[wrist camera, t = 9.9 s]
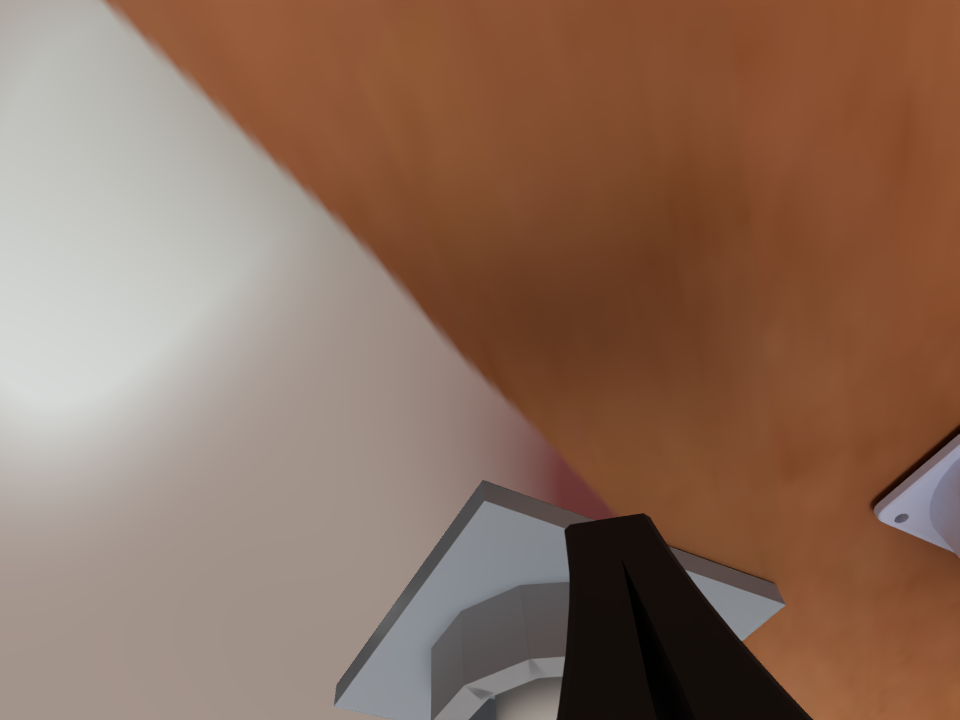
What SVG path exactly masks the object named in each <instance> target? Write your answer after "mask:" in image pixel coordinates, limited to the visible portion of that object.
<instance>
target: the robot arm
mask: <svg viewBox="0 0 960 720" xmlns="http://www.w3.org/2000/svg"><path fill="white" fill-rule="evenodd" d="M874 514H875V515H876V517H877V518H878V519H879V520H880V521H881V522H883V523H885V524H888V525H890V526H892V527H895V528H897V529H899V530H902V531H904V532H906V533H909V534H911V535H913V536H916V537H918V538H920V539H923V540H925V541H928V542H930V543H932V544H935V545H937V546H939V547H942V548H944V549H946V550H949V551H951V552H953V553H956V555H957V556H958V557H959V558H960V434H958V435H957V436H956V437H955V438H954V439H953V440H951V441H950V442H949V443H948V444H947V445H946V446H944V447H943V448H942V449H941V450H940V451H939V452H937V453H936V454H935V455H934V456H933V457H932V458H930V459H929V460H928V461H927V462H926V463H924V464H923V465H922V466H921V467H920V468H919V469H917V470H916V471H915V472H914V473H913V474H912V475H910V476H909V477H908V478H907V479H906V480H905V481H903V482H902V483H901V484H900V485H899V486H898V487H896V488H895V489H894V490H893V491H892V492H890V493H889V494H888V495H887V496H886V497H885V498H883V499H882V500H881V501H880V502H879V503H878V504H877V505H876V506H875V508H874ZM564 533H565V541H566V550H567V559H568V567H569V612H568V627H567V641H566V653H565V662H564V669H563V677H562V684H561V692H560V699H559V707H558V713H557V720H813V719H812V718H811V717H810V716H809V715H808V714H807V713H806V712H805V711H804V710H803V709H802V708H801V707H800V705H799V704H798V703H797V702H796V701H795V700H794V699H793V698H792V697H791V696H790V695H789V694H788V693H787V692H786V691H785V690H784V688H783V687H782V686H781V685H780V684H779V683H778V682H777V681H776V680H775V679H774V677H773V676H772V675H771V674H770V673H769V672H768V671H767V670H766V669H765V667H764V666H763V665H762V664H761V663H760V662H759V661H758V660H757V659H756V657H755V656H754V655H753V654H752V653H751V652H750V650H749V649H748V648H747V647H746V646H745V645H744V644H743V642H742V641H741V640H740V639H739V638H738V637H737V635H736V634H735V633H734V632H733V630H732V629H731V628H730V627H729V626H728V624H727V623H726V622H725V621H724V619H723V618H722V617H721V616H720V614H719V613H718V612H717V611H716V610H715V608H714V607H713V606H712V605H711V603H710V602H709V601H708V600H707V598H706V597H705V596H704V594H703V593H702V592H701V591H700V589H699V588H698V587H697V585H696V584H695V583H694V581H693V580H692V579H691V577H690V576H689V575H688V573H687V572H686V571H685V569H684V568H683V566H682V565H681V564H680V562H679V561H678V559H677V558H676V557H675V555H674V554H673V552H672V551H671V549H670V548H669V546H668V545H667V544H666V542H665V541H664V539H663V537H662V536H661V534H660V533H659V531H658V530H657V528H656V526H655V525H654V523H653V521H652V520H651V518H650V517H649V516H647V515H645V514H644V513H642V514H636V515H629V516H622V517H616V518H610V519H603V520H596V521H589V522H582V523H576V524H570V525H569V526H568V527H567V528H566V529H565V530H564Z"/></svg>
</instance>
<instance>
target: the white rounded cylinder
mask: <svg viewBox="0 0 960 720" xmlns="http://www.w3.org/2000/svg"><path fill="white" fill-rule="evenodd" d="M562 677H563V676H561V677H547V678H537V679H535V680H532V681H530V682H527V683H525V684H522V685H520V686H517V687H515V688H512V689H509V690H507V691H504V692H502V693H499V694H497V695H495V708H496V720H557V713H558V707H559V699H560V692H561V684H562Z"/></svg>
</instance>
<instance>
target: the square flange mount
mask: <svg viewBox="0 0 960 720" xmlns="http://www.w3.org/2000/svg"><path fill="white" fill-rule="evenodd" d="M589 521H596V520H593V519H591V518H588V517H585V516H582V515H580V514H577V513H574V512H571V511H568V510H565V509H563V508H560V507H557V506H554V505H551V504H549V503H546V502H543V501H540V500H537V499H535V498H532V497H529V496H526V495H523V494H520V493H517V492H515V491H512V490H509V489H507V488H503V487H501V486H498V485H495V484H492V483H490V482H487V481H484V480H483V481H482V482H481V483H480V485H479V486H478V488H477V489H476V490H475V492H474V493H473V495H472V496H471V497H470V499H469V500H468V501H467V503H466V504H465V506H464V507H463V508H462V510H461V511H460V513H459V514H458V516H457V517H456V518H455V520H454V521H453V523H452V524H451V525H450V527H449V528H448V530H447V531H446V532H445V534H444V535H443V536H442V538H441V539H440V541H439V542H438V544H437V545H436V546H435V548H434V549H433V551H432V552H431V553H430V555H429V556H428V558H427V559H426V560H425V562H424V563H423V565H422V566H421V567H420V569H419V570H418V572H417V573H416V574H415V576H414V577H413V579H412V580H411V581H410V583H409V584H408V586H407V587H406V588H405V590H404V591H403V593H402V594H401V595H400V597H399V598H398V600H397V601H396V602H395V604H394V605H393V607H392V608H391V609H390V611H389V612H388V614H387V615H386V616H385V618H384V619H383V621H382V622H381V623H380V625H379V626H378V628H377V629H376V630H375V632H374V633H373V635H372V636H371V638H370V639H369V640H368V642H367V643H366V644H365V646H364V647H363V649H362V650H361V651H360V653H359V654H358V656H357V657H356V659H355V660H354V661H353V663H352V664H351V666H350V667H349V668H348V670H347V671H346V673H345V674H344V675H343V677H342V678H341V679H340V681H339V682H338V684H337V686H336V694H335V701H334V707H337V708H342V709H346V710H351V711H356V712H360V713H365V714H369V715H374V716H379V717H384V718H388V719H393V720H496V708H495V695H497V694H499V693H502V692H504V691H507V690H509V689H512V688H515V687H517V686H520V685H522V684H525V683H527V682H530V681H532V680H535V679H537V678H547V677H561V676H563V669H564V662H565V653H566V641H567V627H568V612H569V567H568V559H567V550H566V541H565V533H564V530H565V529H566V528H567V527H568V526H569V525H570V524H576V523H582V522H589ZM669 548H670V549H671V551H672V552H673V554H674V555H675V557H676V558H677V559H678V561H679V562H680V564H681V565H682V566H683V568H684V569H685V571H686V572H687V573H688V575H689V576H690V577H691V579H692V580H693V581H694V583H695V584H696V585H697V587H698V588H699V589H700V591H701V592H702V593H703V594H704V596H705V597H706V598H707V600H708V601H709V602H710V603H711V605H712V606H713V607H714V608H715V610H716V611H717V612H718V613H719V614H720V616H721V617H722V618H723V619H724V621H725V622H726V623H727V624H728V626H729V627H730V628H731V629H732V630H733V632H734V633H735V634H736V635H737V637H738V638H739V639H740V640H741V641H743V640H744V639H745V638H746V637H748V636H749V635H750V634H751V633H752V632H754V631H755V630H756V629H757V628H758V627H760V626H761V625H762V624H763V623H765V622H766V621H767V620H768V619H769V618H771V617H772V616H773V615H774V614H775V613H777V612H778V611H779V610H780V609H781V608H783V607H784V606H785V605H786V604H785V602H784V600H783V598H782V596H781V595H780V593H779V591H778V589H777V587H776V585H775V584H773V583H770V582H768V581H765V580H762V579H759V578H756V577H754V576H751V575H748V574H745V573H742V572H740V571H737V570H734V569H731V568H728V567H726V566H723V565H720V564H717V563H714V562H711V561H709V560H706V559H703V558H700V557H697V556H695V555H692V554H689V553H686V552H683V551H681V550H678V549H675V548H672V547H669Z"/></svg>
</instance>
